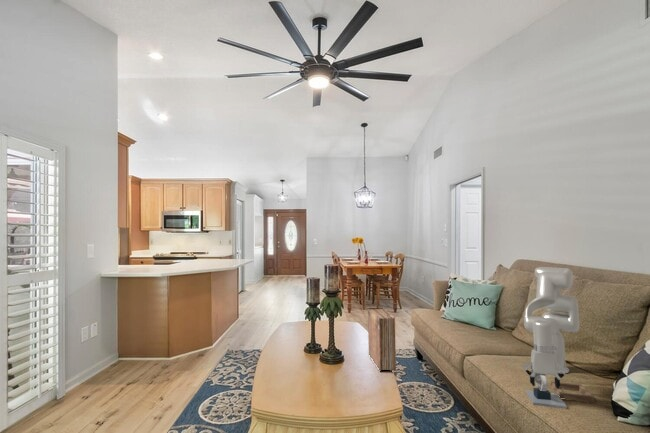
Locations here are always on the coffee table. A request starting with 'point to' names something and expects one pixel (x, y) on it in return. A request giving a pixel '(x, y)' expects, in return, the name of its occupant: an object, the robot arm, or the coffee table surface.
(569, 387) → the pocket frame
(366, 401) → the coffee table surface
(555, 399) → the pad
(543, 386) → the watch
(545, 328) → the robot arm
